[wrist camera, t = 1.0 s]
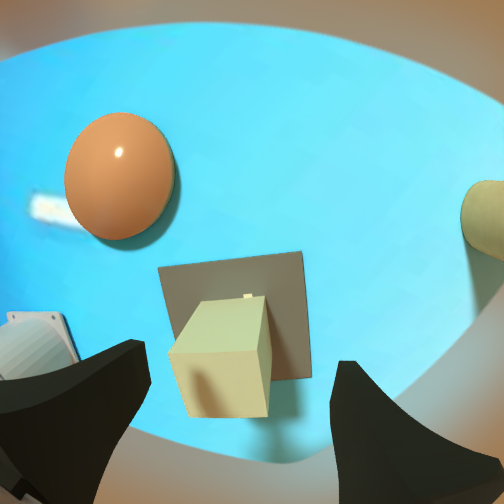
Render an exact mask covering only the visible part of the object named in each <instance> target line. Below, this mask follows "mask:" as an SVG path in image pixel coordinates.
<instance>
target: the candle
mask: <svg viewBox="0 0 504 504" xmlns="http://www.w3.org/2000/svg"><path fill="white" fill-rule="evenodd" d="M461 226H462V230H463V233H464V236H465V238H466V240H467V241H468V243H469V244H470V245H471V246H473V247H474V248H475V249H477V250H479V251H481V252H483V253H485V254H487V255H490V256H492V257H494V258H496V259H499V260H501V261H503V262H504V181H494V180H484V181H480V182H477V183H475V184H474V185H473V186H472V187H471V188H470V189H469V190H468V192H467V193H466V195H465V198H464V200H463V203H462V208H461Z"/></svg>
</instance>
